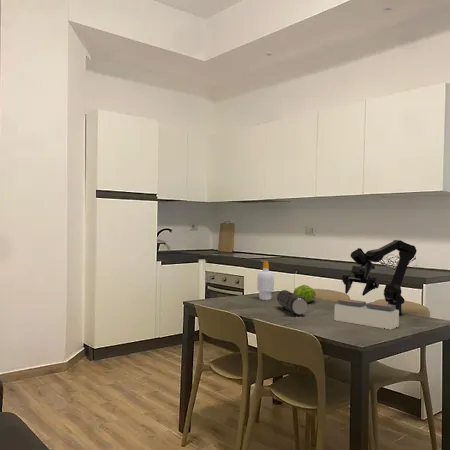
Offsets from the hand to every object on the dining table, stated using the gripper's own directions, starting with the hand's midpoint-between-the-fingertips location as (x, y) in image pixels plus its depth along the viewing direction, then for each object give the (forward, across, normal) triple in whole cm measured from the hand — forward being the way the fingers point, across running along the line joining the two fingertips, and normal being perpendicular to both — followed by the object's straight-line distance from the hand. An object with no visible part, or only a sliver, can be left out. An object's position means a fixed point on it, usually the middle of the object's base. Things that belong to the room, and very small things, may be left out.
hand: (354, 294), depth 239 cm
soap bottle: (-5, -71, +24) cm, 75 cm away
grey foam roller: (+12, -35, +7) cm, 38 cm away
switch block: (+11, +7, +8) cm, 15 cm away
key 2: (+5, +15, +2) cm, 16 cm away
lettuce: (-13, -50, +33) cm, 61 cm away
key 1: (+5, 0, +2) cm, 5 cm away
